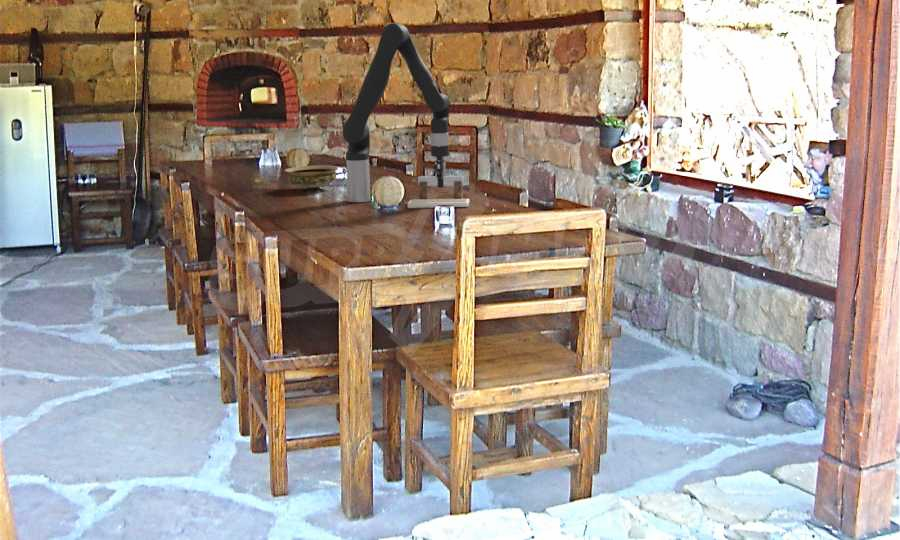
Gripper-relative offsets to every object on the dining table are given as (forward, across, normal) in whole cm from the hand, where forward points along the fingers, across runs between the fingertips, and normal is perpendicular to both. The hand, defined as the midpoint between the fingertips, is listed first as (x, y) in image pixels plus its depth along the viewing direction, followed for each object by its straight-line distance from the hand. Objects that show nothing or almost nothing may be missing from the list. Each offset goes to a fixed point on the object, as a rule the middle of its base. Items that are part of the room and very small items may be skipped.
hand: (441, 186), depth 393 cm
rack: (+6, 0, 0) cm, 6 cm away
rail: (-1, 0, 0) cm, 1 cm away
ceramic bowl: (+7, -40, -63) cm, 75 cm away
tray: (+6, +10, 0) cm, 11 cm away
